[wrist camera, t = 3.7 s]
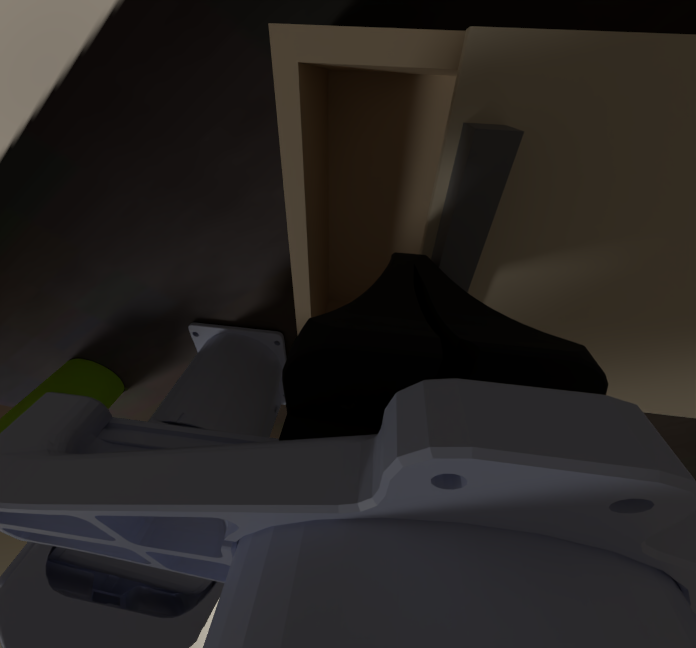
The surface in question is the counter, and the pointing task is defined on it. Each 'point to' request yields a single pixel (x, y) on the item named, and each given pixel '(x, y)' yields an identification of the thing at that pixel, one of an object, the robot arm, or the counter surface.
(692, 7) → the counter surface
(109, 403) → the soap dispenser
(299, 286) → the carton
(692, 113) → the carton lid
